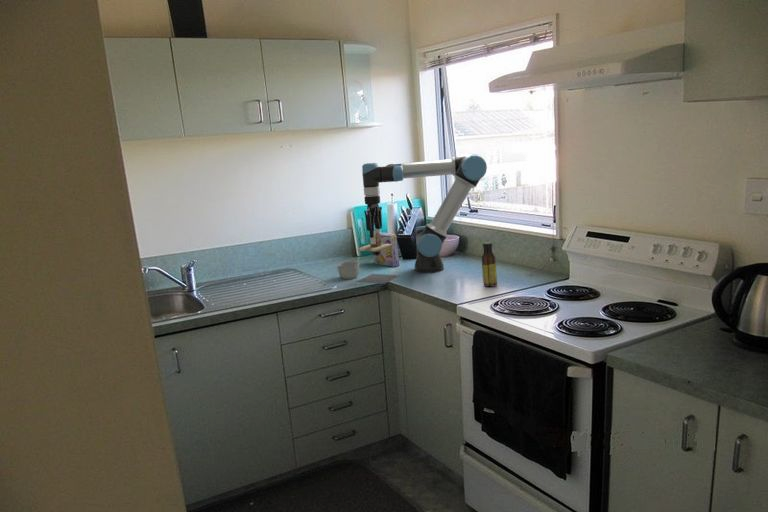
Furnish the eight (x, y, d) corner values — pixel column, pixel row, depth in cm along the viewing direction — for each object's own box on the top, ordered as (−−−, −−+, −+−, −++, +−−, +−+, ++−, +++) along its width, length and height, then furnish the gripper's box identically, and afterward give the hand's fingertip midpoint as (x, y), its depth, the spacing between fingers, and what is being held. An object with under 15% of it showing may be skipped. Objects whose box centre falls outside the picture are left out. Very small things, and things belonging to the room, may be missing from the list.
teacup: (359, 280, 288) (357, 264, 286) (337, 281, 288) (336, 266, 287) (360, 273, 302) (359, 258, 300) (340, 274, 302) (338, 260, 300)
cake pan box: (371, 262, 324) (369, 232, 321) (379, 261, 327) (376, 230, 324) (392, 267, 309) (390, 235, 305) (400, 266, 312) (397, 233, 308)
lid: (393, 246, 286) (392, 232, 285) (381, 251, 275) (380, 237, 273) (371, 245, 292) (370, 231, 291) (358, 250, 281) (356, 236, 280)
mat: (399, 276, 290) (399, 275, 290) (384, 284, 276) (384, 283, 276) (372, 274, 298) (372, 273, 297) (356, 282, 284) (356, 281, 284)
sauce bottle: (498, 283, 263) (496, 241, 259) (496, 287, 257) (494, 244, 253) (483, 283, 265) (482, 241, 261) (481, 287, 259) (480, 244, 255)
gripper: (373, 193, 287) (377, 239, 292) (356, 197, 273) (360, 246, 278) (387, 193, 284) (390, 239, 288) (370, 197, 269) (373, 246, 274)
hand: (375, 242), depth 283 cm, fingers closed on lid, 4 cm apart
